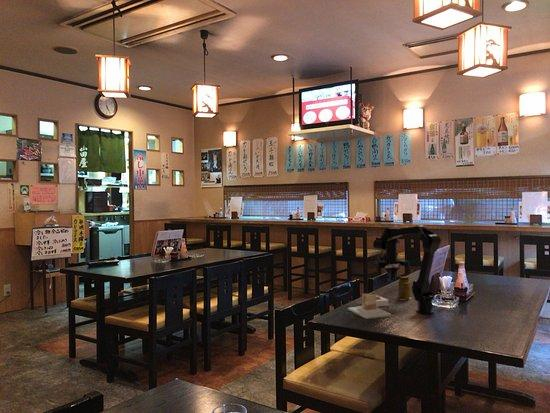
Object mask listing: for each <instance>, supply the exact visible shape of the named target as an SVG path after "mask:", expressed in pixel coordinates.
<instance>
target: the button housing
mask: <svg viewBox="0 0 550 413" xmlns="http://www.w3.org/2000/svg"><path fill="white" fill-rule="evenodd" d="M389 304H390V302H389V299H388V298H385V297H382V296H380V300H376V307H378V308H380V307H386V306H387V307H388V306H389Z"/></svg>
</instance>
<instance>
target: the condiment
mask: <svg viewBox="0 0 550 413" xmlns="http://www.w3.org/2000/svg"><path fill="white" fill-rule="evenodd" d="M410 286H411V285H410V278H409V276H404V275H403V276H399V280H398V296H393V297H392V299H393V298H394V299H397V300H401V301H406V300H411V299H413V297H410V295H411V294H410V293H411V292H410V291H411V290H410V288H411V287H410Z"/></svg>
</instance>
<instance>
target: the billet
mask: <svg viewBox="0 0 550 413" xmlns="http://www.w3.org/2000/svg"><path fill="white" fill-rule="evenodd" d="M376 295H377V294H374V293H371V292H370V293H361V306H362V308H364V309H366V310H371V309H376Z"/></svg>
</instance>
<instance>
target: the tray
mask: <svg viewBox="0 0 550 413" xmlns="http://www.w3.org/2000/svg"><path fill="white" fill-rule="evenodd" d="M347 311H350V312H352V313H354V314H355V315H358V316H360V317H362V318H363V319H366V320H368V319H377V318H387V317H392V313H391V312H388V311H385V310H383V309H382V308H380V307H376V309H371V310H366V309H364V308H362V305H359V306H351V307H347Z"/></svg>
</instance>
